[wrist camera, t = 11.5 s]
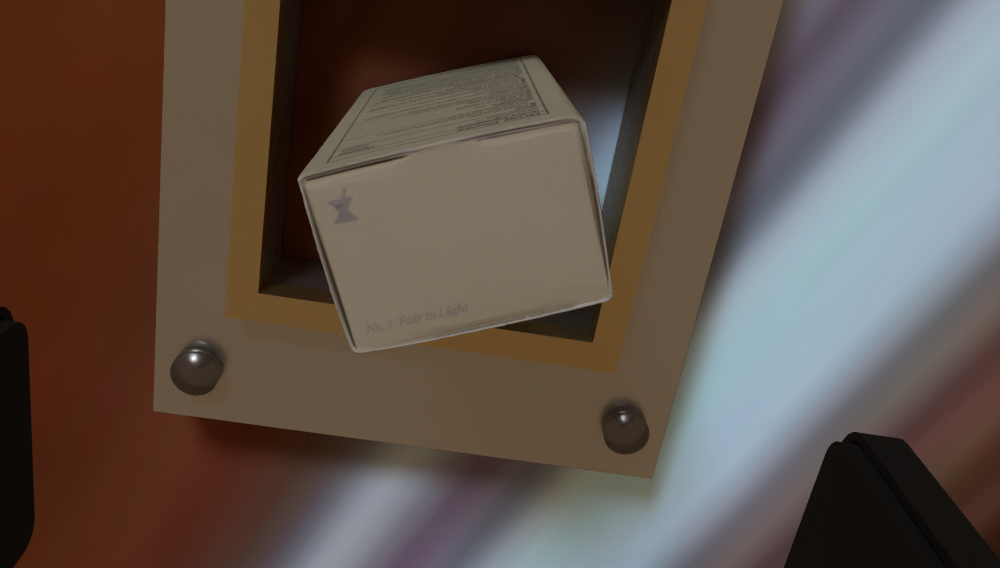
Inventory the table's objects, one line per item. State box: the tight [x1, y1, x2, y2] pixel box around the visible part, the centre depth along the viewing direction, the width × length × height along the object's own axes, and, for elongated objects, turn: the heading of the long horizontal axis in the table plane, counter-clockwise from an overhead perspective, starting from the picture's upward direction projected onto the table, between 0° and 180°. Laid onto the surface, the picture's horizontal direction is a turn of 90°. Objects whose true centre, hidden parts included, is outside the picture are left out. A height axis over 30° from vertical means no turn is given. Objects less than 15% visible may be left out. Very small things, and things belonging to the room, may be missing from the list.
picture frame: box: [153, 0, 783, 478], centre depth 28 cm, size 18×22×4 cm
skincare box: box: [297, 55, 613, 353], centre depth 24 cm, size 6×4×12 cm
